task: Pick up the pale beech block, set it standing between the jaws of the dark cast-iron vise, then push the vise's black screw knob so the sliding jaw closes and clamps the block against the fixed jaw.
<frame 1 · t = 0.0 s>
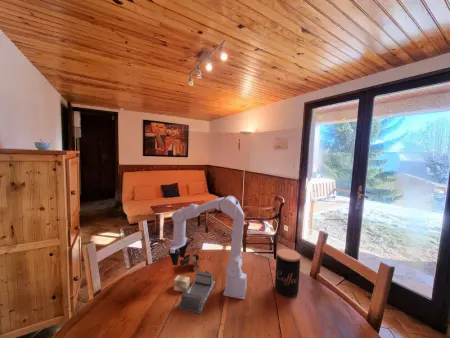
hand: (178, 260, 98), 10 cm above the table, fingers open, 7 cm apart
jaw: (205, 275, 98), point 3 cm above the table, slide at 0.0 cm
vise: (198, 293, 89), on the table
coffee jar: (286, 291, 94), on the table
block: (181, 288, 92), on the table
pottery mug: (190, 267, 110), on the table
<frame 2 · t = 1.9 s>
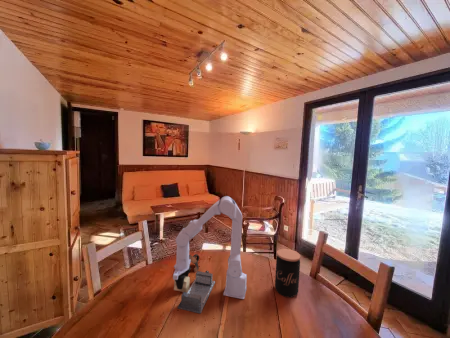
hand: (181, 285, 92), 1 cm above the table, fingers closed on block, 4 cm apart
block: (181, 288, 92), on the table, touching gripper
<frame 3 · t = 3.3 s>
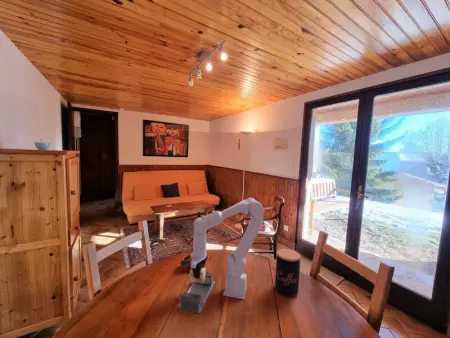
hand: (198, 275, 88), 9 cm above the table, fingers closed on block, 4 cm apart
block: (197, 279, 89), point 7 cm above the table, touching gripper
when the fingers open (3 cm above the table, at t = 4.7 s): block stays where it is, resting on vise.
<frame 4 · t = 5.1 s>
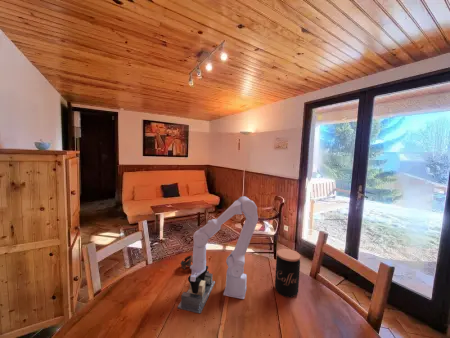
hand: (198, 287, 89), 3 cm above the table, fingers open, 7 cm apart
block: (197, 292, 89), point 1 cm above the table, touching vise
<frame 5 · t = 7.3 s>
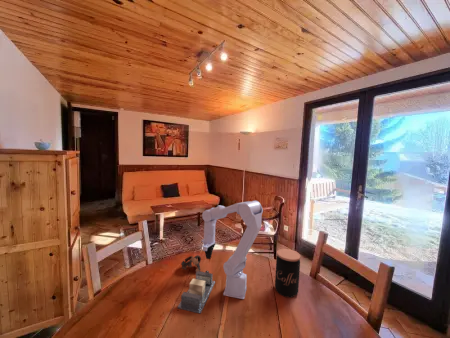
hand: (208, 258, 102), 9 cm above the table, fingers closed
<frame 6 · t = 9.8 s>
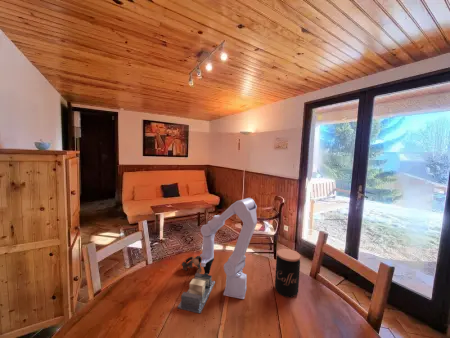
hand: (207, 273, 101), 3 cm above the table, fingers closed
jaw: (204, 277, 97), point 3 cm above the table, slide at 1.6 cm, touching gripper
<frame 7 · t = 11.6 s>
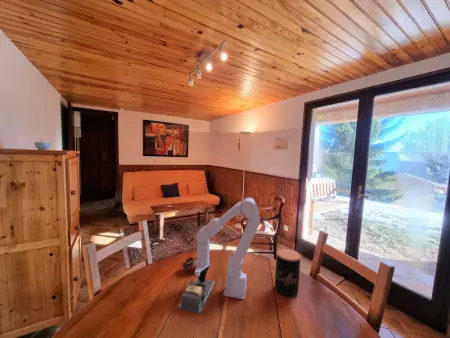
hand: (202, 282, 94), 3 cm above the table, fingers closed
jaw: (198, 287, 89), point 3 cm above the table, slide at 9.2 cm, touching block, gripper
block: (193, 299, 84), point 1 cm above the table, touching jaw, vise
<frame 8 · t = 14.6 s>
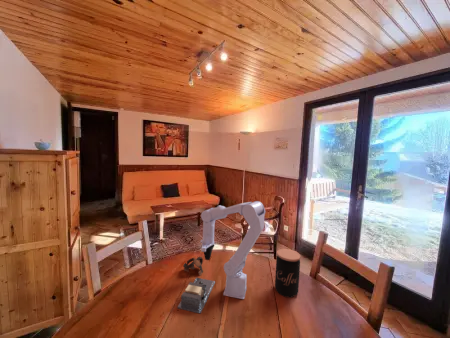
hand: (207, 259, 100), 10 cm above the table, fingers closed
jaw: (198, 287, 89), point 3 cm above the table, slide at 9.2 cm, touching block
at the end: jaw slide at 9.2 cm; block 0.4 cm from the target spot on the vise, point 0.6 cm above the vise's base; block tilted 0° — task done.
